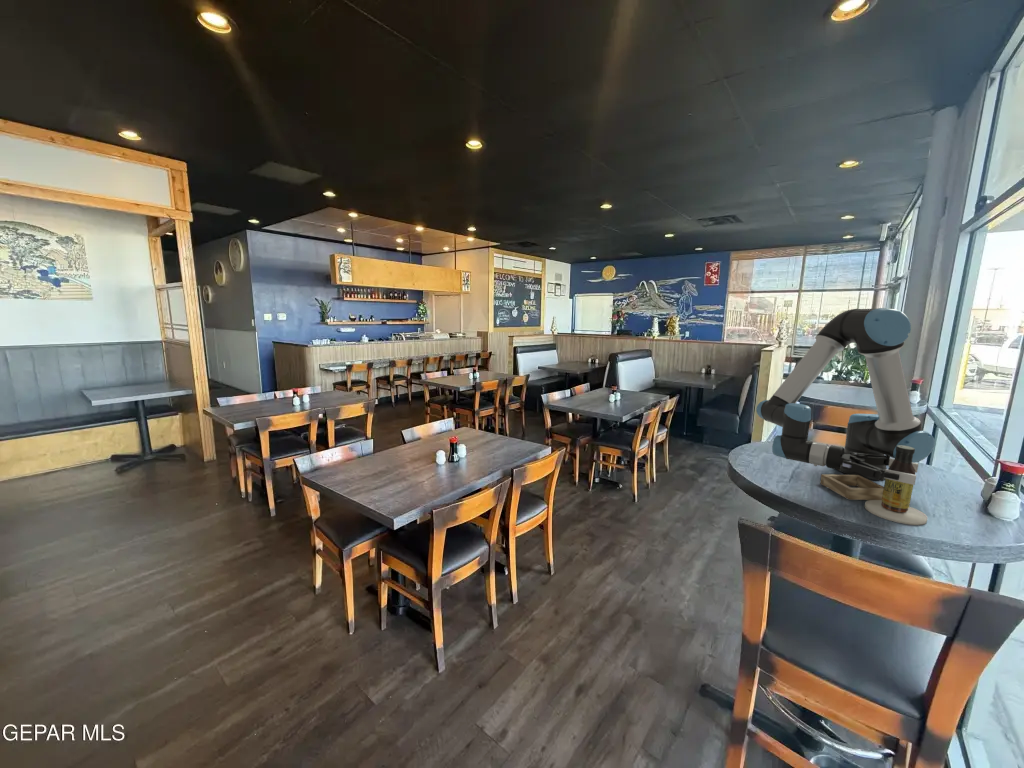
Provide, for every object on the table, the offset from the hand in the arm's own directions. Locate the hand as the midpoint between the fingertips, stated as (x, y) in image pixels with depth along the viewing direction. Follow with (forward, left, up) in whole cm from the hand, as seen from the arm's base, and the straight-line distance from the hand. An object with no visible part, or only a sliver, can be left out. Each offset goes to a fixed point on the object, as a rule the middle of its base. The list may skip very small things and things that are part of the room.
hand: (916, 473), depth 121 cm
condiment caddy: (+2, -18, -14) cm, 23 cm away
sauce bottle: (+2, -2, -13) cm, 13 cm away
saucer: (+2, -2, -14) cm, 14 cm away
